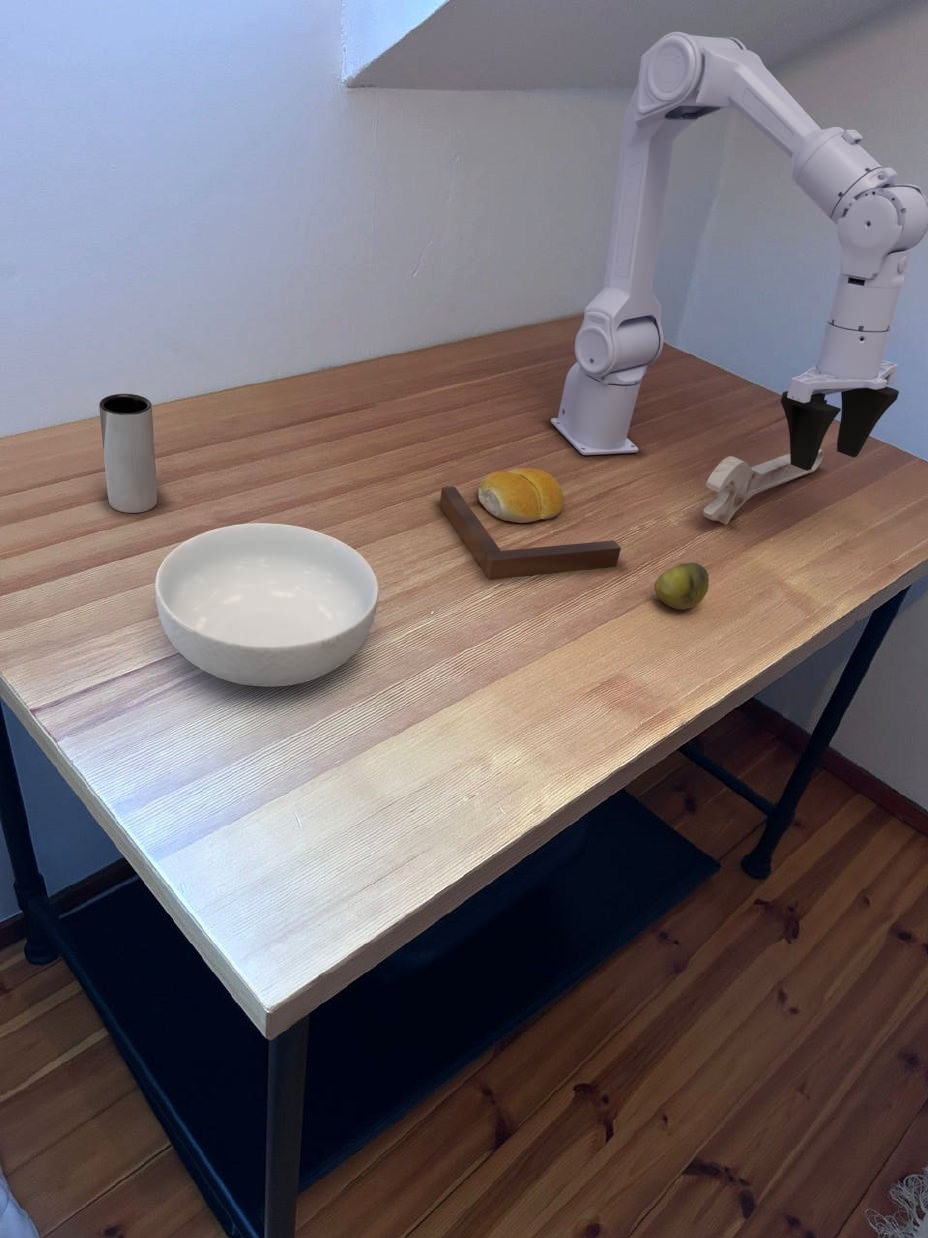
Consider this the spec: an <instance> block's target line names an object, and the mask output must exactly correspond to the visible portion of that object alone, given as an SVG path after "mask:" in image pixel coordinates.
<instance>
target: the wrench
mask: <svg viewBox="0 0 928 1238" xmlns="http://www.w3.org/2000/svg"><path fill="white" fill-rule="evenodd" d="M824 455H825V451H824V449H821V448H820V449H819V452H818V455H817V458H816V461H815V463H814V465H813V466H812V468H811V470H803V469H801V468H798V467H796V466H793V465H791V461H790V452H789V453H786V454H784V455H781V456H778V457H776V458H773V459H771V460H768V461H765V462H762V463H760V464H757V465H754V466H751V467H750V466H749V464H748V462H746V461H745V460H742V459H740V458H737V457H735V456H733V455H729V456H727V457H725V458H723V459H722V460H721V461H720V462H719V463H718V465H716V466H715V468H714V469H713V470H712V472H711V473H710V475H709V477H708V479H707V480H706V481H705V482H706V483H705V487H706V488H708V489H710V490H712V491H714V492H716V493H718V496H717V498H714V499H713V500H712V501H710V502H709V503H708V504H707V505H706V506H705V507H704V509H703V511H702V515H703V517H704V518H706V519H708V520H710V521H714V522H720V523H721V524H723V525H724V526H727V525H728V524H729V522H730V521H731V520H732V518H733V516H735V513H736V512H737V511H738V510H739V509H740V508H741V507H742V506H743V505H744V504H745V503H746V502H747V501H748V500H749V499H750V498H751V497H752V496H754V495H756V494H759V493H761V492H763V491H765V490H768V489H771V488H773V487H776V486H779V485H782V484H784V483H786V482H789V481H792V480H795V479H796V478H797V479H798V478H800V477H803V476H806V475H808V474H811V473H813V472H816V470H817V469H818V468H819V466H820V464H821V463H822V461H823V458H824Z"/></svg>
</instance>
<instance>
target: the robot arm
mask: <svg viewBox="0 0 928 1238" xmlns="http://www.w3.org/2000/svg"><path fill="white" fill-rule="evenodd" d="M639 64H640V65H639V74H638V79H637V85H636V87H635V90H634V92H633V94H632V96H631V98H630V101H629V103H628V106H627V107H626V110H625V112H624V117H623V123H622V131H621V139H620V147H619V148H620V149H619V156H618V163H617V173H616V180H615V181H616V182H615V191H614V198H613V207H612V208H613V209H612V215H611V222H610V223H611V224H610V233H609V240H608V247H607V256H606V265H605V274H604V275H605V276H604V283H603V287H602V289H601V291H600V292H599V293H598V294H597V295H596V296H595V297H594V298H593V299H592V300H591V301H590V302H589V304H588V305H587V306H586V307H585V308H584V314H583V320H582V324H581V326H580V328H579V330H578V331H577V334H576V336H575V340H574V355H575V358H576V362H575V363H574V364H573V365H572V366H571V368H570V369H569V371H568V372H567V374H566V377H565V380H564V385H563V391H562V396H561V399H560V405H559V410H558V414H557V417H552V418H550V423H551V424H552V425H553V426H554V427H555V428H556V429H557V431H558V432H559V433H560V434H561V435H562V436H564V438H565V439H566V440H567V441H568V442H569V443H570V444H571V445H572V446H573V447H574V448H575V449H576V450H577V451H578V452H579V454H581V455H582V456H598V455H599V456H600V455H617V454H634V453H638V452H639V448H638V446H637V445H635V443H634V442H632V441H631V440H630V439H629V438H628V433H629V430H630V427H631V422H632V418H633V415H634V411H635V407H636V403H637V400H638V395H639V392H640V388H641V384H642V379H643V376H644V375H646V373H647V369H648V366H650V365H652V364H654V363H655V362H656V361H657V360H658V358H659V357H660V356H661V354H662V351H663V348H664V341H665V340H664V338H665V337H664V332H663V327H662V323H661V322H662V319H661V317H662V310H663V307H662V305H661V303H660V302H659V300H658V299H657V298H656V296H655V294H654V293H653V285H654V280H655V272H656V266H657V259H658V252H659V245H660V238H661V230H662V224H663V218H664V210H665V203H666V195H667V190H668V182H669V176H670V170H671V162H672V154H673V148H674V143H675V142H674V141H675V139H677V137H678V136H680V135H681V134H682V133H683V132H685V131H686V130H687V129H688V128H689V127H690V126H692V125H693V124H694V123H695V122H696V121H698V120H699V119H700V118H703V117H705V116H708V115H711V114H713V113H716V112H718V111H720V110H723V109H732V110H735V111H736V112H738V113H739V114H740V115H741V116H742V117H743V118H745V119H746V120H747V121H748V122H749V123H750V124H752V125H753V126H754V127H755V128H756V129H757V130H758V131H760V133H762V134H763V135H764V136H765V137H766V138H767V139H769V140H770V142H772V143H773V144H774V146H776V147H778V148H779V149H780V150H781V151H782V152H783V153H784V154H785V155H786V156H788V157H789V158H790V159H791V181H793V183H794V184H795V185H796V186H797V187H798V188H799V189H801V191H802V192H803V193H804V194H805V195H807V197H808V198H809V199H810V200H811V201H812V202H813V203H814V204H815V205H816V206H817V207H818V208H819V209H820V210H821V211H822V212H823V213H824V214H825V215H826V216H827V217H828V218H829V219H830V220H831V221H832V222H833V223H834V225H836V232H837V239H838V242H839V244H840V246H841V249H842V256H841V257H842V258H841V261H840V262H841V263H840V266H839V267H840V268H839V271H838V276H837V280H836V284H835V289H834V293H833V296H832V301H831V304H830V310H829V313H828V318H827V321H826V326H825V329H824V334H823V338H822V343H821V346H820V351H819V356H818V359H817V364H815V365H813V366H812V367H811V368H809V369H808V370H806V371H805V372H803V373H802V374H800V375H798V376H794V377H791V378H790V382H789V387H788V390H785V391H783V392H782V393H781V399H780V404H781V407H782V409H783V412H784V415H785V418H786V423H787V427H788V434H789V435H788V436H789V453H790V461H791V465H793V466H796V467H798V468H801V469H803V470H811V468H812V466H813V465H814V463H815V461H816V458H817V455H818V452H819V449H821V446H822V443H823V441H824V438H825V437H826V434H827V432H828V430H829V428H830V426H831V425H832V424H833V421H834V420H835V418H836V417H837V416H838V415H839V413H840V412H841V413H840V414H841V415H840V423H839V428H838V434H837V438H836V439H837V440H836V452H837V453H840V454H843V455H846V456H848V457H850V458H856V457H857V458H858V456H859V454H860V452H861V451H862V449H863V447H864V446H865V444H866V442H867V440H868V438H869V437H870V435H871V433H872V431H873V430H874V428H875V426H876V425H877V423H878V421H879V420H880V419H881V417H883V415H884V414H885V413H886V412H887V410H888V409H889V408H890V407H891V406H892V405H893V404H894V403H895V402H896V401H897V400H898V397H899V394H900V390H898V389H896V388H893V387H889V386H887V385H892V384H894V383H895V380H896V376H897V373H898V370H899V367H900V365H899V364H897V363H895V362H891V361H887V360H883V358H884V354H885V351H886V346H887V343H888V341H889V337H890V333H891V329H892V325H893V321H894V318H895V315H896V311H897V308H898V304H899V301H900V296H901V294H902V289H903V285H904V283H905V282H904V281H905V276H906V273H907V269H908V266H909V262H910V258H911V255H912V252H913V251H912V249H913V248H915V247H916V246H918V244H920V242H921V241H922V240H923V239H924V238H925V236H926V234H927V233H928V198H927V196H925V195H924V193H923V190H922V188H921V187H920V186H918V185H915V184H911V183H898V184H897V183H896V178H897V177H898V173H897V172H896V171H895V170H894V168H892V167H891V166H890V167H883V166H882V165H881V164H880V163H879V162H878V161H877V160H875V158H874V157H872V156H871V154H869V152H867V151H866V150H865V149H864V148H863V147H862V146H861V145H860V144H861V142H862V141H863V140H864V137H863V136H862V135H861V133H859V132H858V131H857V130H856V129H844V128H842V127H840V126H832V127H828V128H824V129H822V128H821V127H820V126H819V125H818V124H817V123H816V122H815V120H813V118H811V116H810V115H809V114H808V113H807V112H806V111H805V110H804V108H803V107H802V106H801V105H800V104H799V103H798V102H797V101H796V100H795V98H793V96H792V95H791V94H790V93H789V92H788V91H787V90H786V88H785V87H784V86H783V85H782V84H781V83H780V82H779V80H778V79H776V78H775V75H773V74H772V73H771V72H770V70H768V68H766V66H765V65H764V63H763V60H762V59H761V57H760V55H758V54H757V53H756V52H754V51H752V50H750V49H747V47H746V45H745V44H743V42H741V40H739V39H738V38H735V37H733V36H722V37H715V36H704V35H694V34H689V33H686V32H682V31H672V32H669V33H667V34H665V35H663V36H662V37H660V38H659V39H658V40H657V41H656V42H655V43H654V44H653V45H652V46H651V47H650V48H649V49H648V50H646V52H644V53H643V54H642V55H641V57H640V63H639ZM837 393H840V396H841V408H840V407H838V406H836V405H831V404H829V403H828V399H825V398H826V396H828V395H832V394H837Z"/></svg>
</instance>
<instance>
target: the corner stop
mask: <svg viewBox="0 0 928 1238" xmlns="http://www.w3.org/2000/svg"><path fill="white" fill-rule="evenodd" d="M439 507H440V508H441V510H442V511H443V513H444V514H445V516H446V517H447V519H448V521H449V522H450V523H451V525H452V527H453V528H454V529H455V531H456V532H457V534H458V535H459V537H460V539H461V540H462V541H463V543H464V544H465V546H466V547H467V548H468V550H469V552H470V554H472V556H473V558H474V560H475V561H476V562H477V564H478V566H479V567H480V568H481V569H482V571H483V572H484V574H485V575H486V577H487V579H488V580H497V579H498V580H499V579H508V578H517V577H525V576H526V577H527V576H537V575H546V574H554V573H565V572H572V571H573V572H575V571H585V570H592V569H602V568H603V569H604V568H611V567H612V568H613V567H616V566H617V564H618V561H619V557H620V554H621V550H622V548H621V546H620V545H619V544H618V542H616V540H614V539H613V540H602V541H601V540H600V541H592V542H581V543H572V544H571V543H570V544H560V545H559V544H558V545H549V546H538V547H528V548H526V547H525V548H517V549H506V550H501V549H500V547H499V546H498V544H496V542H495V540H494V538H493V537H492V536H491V535H490V534H489V532H488V530H487V529H486V528H485V527H484V525H483V524H482V522H481V521H480V519H479V518H478V517H477V515H476V514H475V512H474V511H473V509H472V508H471V507H470V506H469V504H468V503H467V501H466V500H465V498H464V497H463V496H462V494H461V493H460V491H459V490H458V488H456V486H444V487H441V491H440V500H439Z"/></svg>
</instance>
